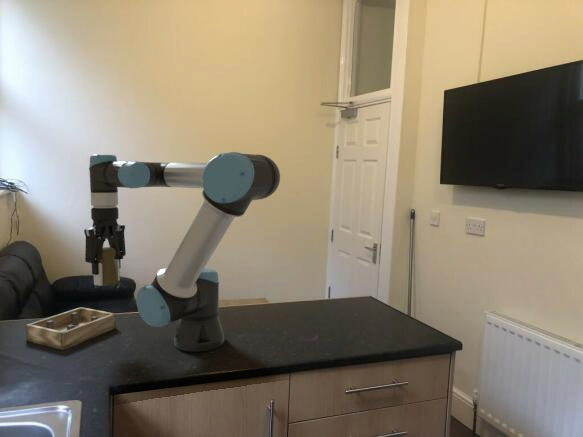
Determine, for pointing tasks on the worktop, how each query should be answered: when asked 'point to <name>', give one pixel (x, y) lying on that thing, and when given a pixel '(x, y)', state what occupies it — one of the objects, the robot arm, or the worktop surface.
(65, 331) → the socket box
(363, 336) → the worktop surface
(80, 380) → the worktop surface
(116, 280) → the cork
